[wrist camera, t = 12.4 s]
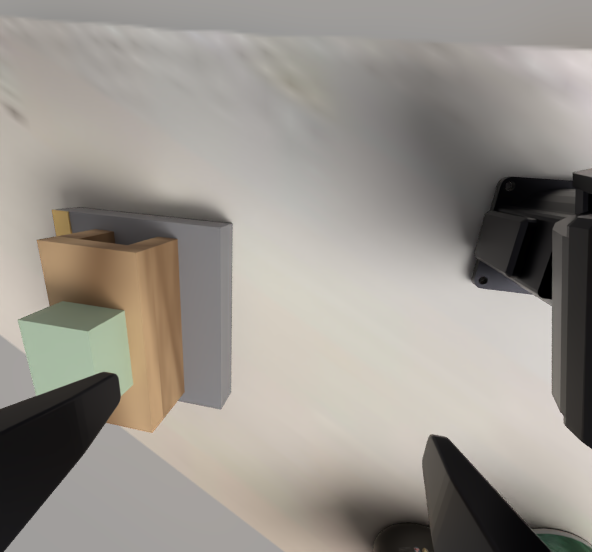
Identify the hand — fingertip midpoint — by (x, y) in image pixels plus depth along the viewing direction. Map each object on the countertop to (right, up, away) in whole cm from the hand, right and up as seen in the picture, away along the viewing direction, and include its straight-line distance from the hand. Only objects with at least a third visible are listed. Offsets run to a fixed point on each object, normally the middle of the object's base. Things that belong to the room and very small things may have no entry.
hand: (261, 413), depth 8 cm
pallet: (-10, +1, +13) cm, 17 cm away
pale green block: (-11, 0, +10) cm, 14 cm away
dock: (-10, +2, +15) cm, 18 cm away
